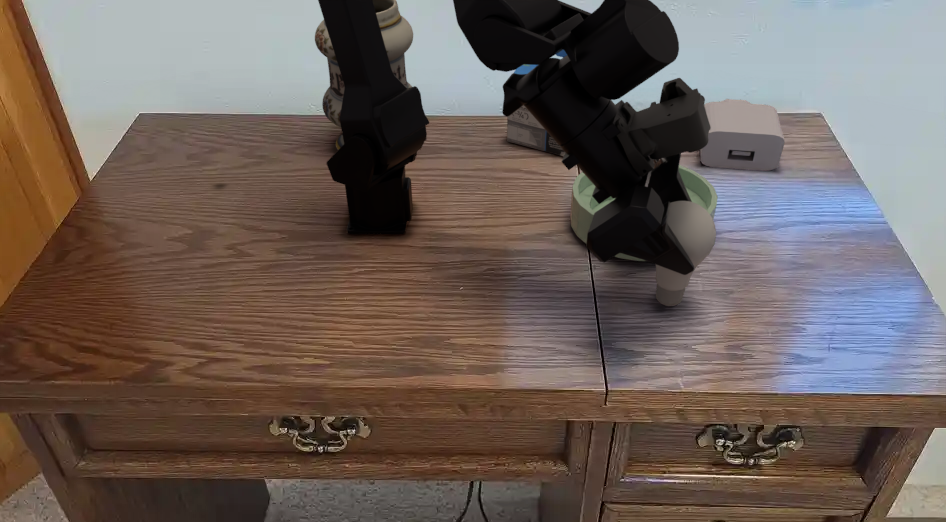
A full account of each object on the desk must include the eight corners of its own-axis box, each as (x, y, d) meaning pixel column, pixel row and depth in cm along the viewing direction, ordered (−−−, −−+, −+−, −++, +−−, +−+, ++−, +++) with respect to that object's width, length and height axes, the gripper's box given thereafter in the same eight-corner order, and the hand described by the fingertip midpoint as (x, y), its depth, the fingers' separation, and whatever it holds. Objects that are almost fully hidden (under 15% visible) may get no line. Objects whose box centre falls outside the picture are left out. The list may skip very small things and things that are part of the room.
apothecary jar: (350, 174, 98) (332, 25, 87) (314, 137, 106) (293, -4, 95) (436, 150, 103) (430, 6, 91) (395, 116, 111) (385, -20, 99)
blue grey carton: (505, 142, 104) (506, 48, 96) (519, 131, 107) (522, 38, 99) (566, 158, 101) (573, 61, 93) (579, 146, 103) (587, 51, 95)
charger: (765, 119, 109) (776, 172, 97) (695, 115, 110) (699, 166, 99) (773, 86, 106) (786, 135, 94) (701, 81, 107) (706, 130, 96)
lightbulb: (629, 315, 76) (644, 215, 69) (643, 280, 80) (658, 183, 73) (694, 329, 74) (716, 229, 67) (704, 293, 79) (726, 195, 72)
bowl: (574, 265, 83) (577, 228, 80) (566, 192, 94) (568, 157, 91) (722, 267, 82) (731, 229, 79) (695, 192, 94) (702, 158, 91)
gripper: (645, 110, 57) (771, 263, 61) (673, 24, 70) (774, 154, 75) (533, 193, 63) (654, 325, 68) (577, 100, 77) (676, 215, 82)
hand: (693, 249), depth 73 cm, fingers open, 7 cm apart
